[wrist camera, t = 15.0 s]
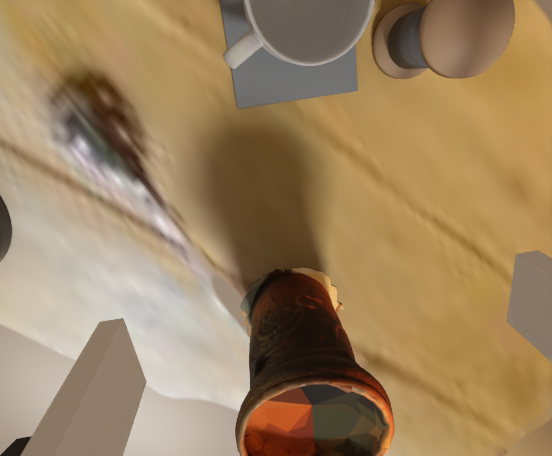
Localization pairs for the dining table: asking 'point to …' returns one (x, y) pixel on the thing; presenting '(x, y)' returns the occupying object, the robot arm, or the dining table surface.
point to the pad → (282, 70)
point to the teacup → (301, 30)
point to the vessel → (306, 375)
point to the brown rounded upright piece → (443, 37)
